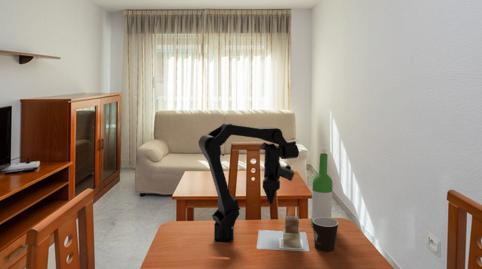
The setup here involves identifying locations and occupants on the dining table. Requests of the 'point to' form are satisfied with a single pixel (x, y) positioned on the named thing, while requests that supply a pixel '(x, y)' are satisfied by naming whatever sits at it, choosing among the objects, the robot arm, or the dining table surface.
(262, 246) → the build board
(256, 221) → the dining table surface
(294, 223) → the walnut cube
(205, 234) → the dining table surface
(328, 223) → the coffee mug
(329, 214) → the wine bottle
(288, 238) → the beech block
